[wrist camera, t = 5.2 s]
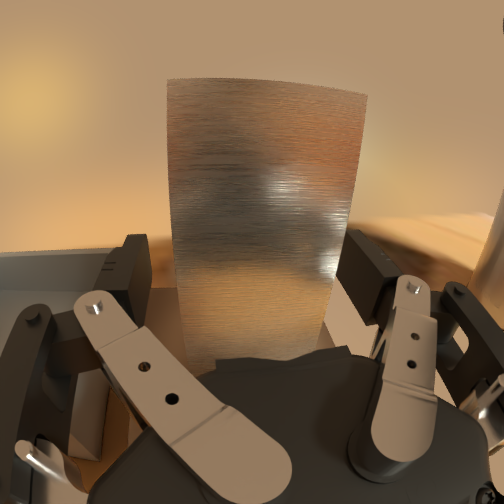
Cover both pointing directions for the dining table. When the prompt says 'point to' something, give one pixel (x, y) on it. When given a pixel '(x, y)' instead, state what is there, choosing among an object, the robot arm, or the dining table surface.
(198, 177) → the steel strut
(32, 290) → the grey tray
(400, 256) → the dining table surface
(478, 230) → the dining table surface
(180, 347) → the stud block
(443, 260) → the dining table surface
